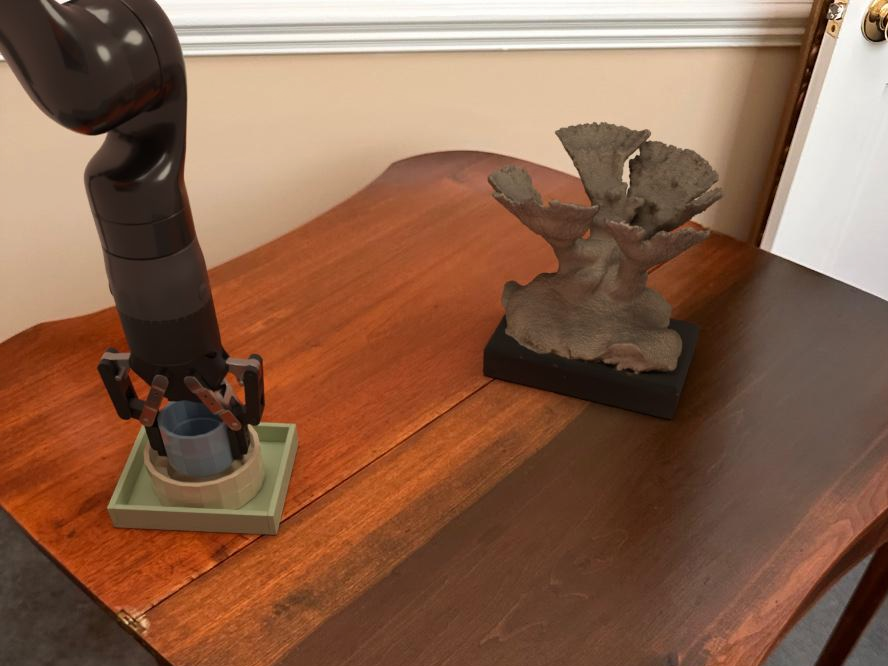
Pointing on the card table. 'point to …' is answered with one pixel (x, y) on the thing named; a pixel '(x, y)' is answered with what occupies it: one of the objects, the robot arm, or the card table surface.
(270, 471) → the tray
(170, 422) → the blue cup
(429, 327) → the card table surface
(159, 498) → the large bowl
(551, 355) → the coral
